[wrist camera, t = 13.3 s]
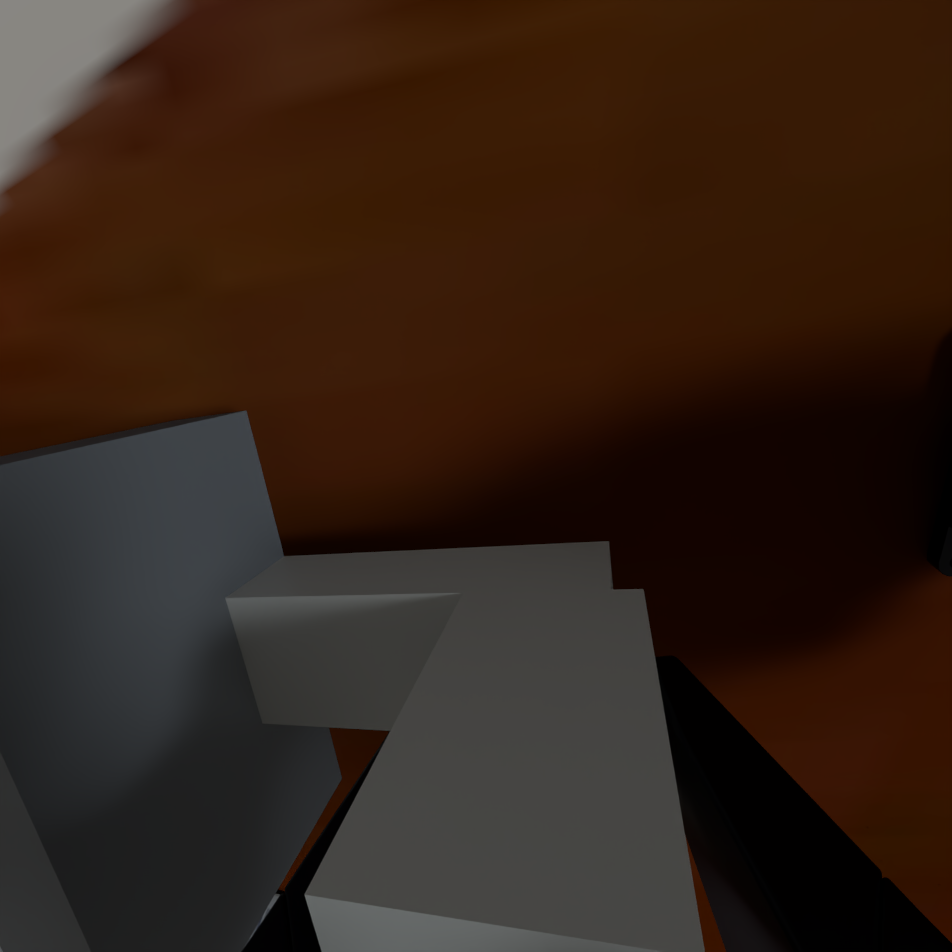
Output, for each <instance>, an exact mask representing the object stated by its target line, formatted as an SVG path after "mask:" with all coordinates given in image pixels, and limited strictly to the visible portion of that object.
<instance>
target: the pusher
mask: <svg viewBox="0 0 952 952" xmlns="http://www.w3.org/2000/svg"><path fill="white" fill-rule="evenodd" d="M329 727H332V728H349V729H367V730H385V731H390V730H391V731H390V733H389V735H388V736H387V738H386V740H385V742H384V744H383V746H382V748H381V750H380V752H379V754H378V755H377V757H376V759H375V761H374V763H373V765H372V767H371V769H370V771H369V773H368V775H367V776H366V778H365V780H364V782H363V784H362V786H361V788H360V790H359V792H358V794H357V795H356V797H355V799H354V801H353V803H352V805H351V807H350V809H349V811H348V813H347V814H346V816H345V818H344V820H343V822H342V824H341V826H340V828H339V830H338V832H337V833H336V835H335V837H334V839H333V841H332V843H331V845H330V847H329V849H328V851H327V853H326V854H325V856H324V858H323V860H322V862H321V864H320V866H319V868H318V870H317V872H316V873H315V875H314V877H313V879H312V881H311V883H310V885H309V887H308V889H307V891H306V892H305V894H304V895H305V899H306V902H307V905H308V908H309V912H310V915H311V918H312V922H313V925H314V928H315V931H316V935H317V938H318V941H319V945H320V948H321V951H322V952H705V950H704V944H703V938H702V932H701V926H700V920H699V914H698V909H697V903H696V897H695V891H694V885H693V879H692V873H691V867H690V861H689V855H688V849H687V843H686V838H685V832H684V826H683V820H682V814H681V808H680V802H679V796H678V790H677V784H676V778H675V772H674V767H673V761H672V755H671V749H670V743H669V737H668V731H667V725H666V719H665V713H664V707H663V701H662V696H661V690H660V684H659V678H658V672H657V666H656V660H655V654H654V648H653V642H652V636H651V630H650V625H649V619H648V613H647V607H646V601H645V595H644V589H617V590H613V581H612V570H611V559H610V548H609V541H601V542H579V543H557V544H536V545H514V546H493V547H471V548H450V549H428V550H406V551H385V552H363V553H342V554H320V555H298V556H284V554H283V550H282V546H281V542H280V538H279V535H278V531H277V527H276V523H275V519H274V515H273V511H272V508H271V504H270V500H269V496H268V492H267V488H266V485H265V481H264V477H263V473H262V469H261V465H260V461H259V458H258V454H257V450H256V446H255V442H254V438H253V435H252V431H251V427H250V423H249V419H248V415H247V412H246V411H239V412H232V413H225V414H218V415H210V416H203V417H196V418H189V419H181V420H174V421H169V422H164V423H160V424H155V425H150V426H145V427H140V428H136V429H131V430H126V431H121V432H116V433H111V434H107V435H102V436H97V437H92V438H87V439H83V440H78V441H73V442H68V443H63V444H59V445H54V446H49V447H44V448H39V449H34V450H30V451H25V452H20V453H15V454H10V455H6V456H1V457H0V947H1V949H2V951H3V952H241V951H242V950H243V948H244V947H245V945H246V943H247V942H248V940H249V938H250V936H251V935H252V933H253V931H254V930H255V928H256V926H257V924H258V923H259V921H260V919H261V917H262V916H263V914H264V912H265V911H266V909H267V907H268V905H269V904H270V902H271V900H272V898H273V897H274V895H275V893H276V892H277V890H278V888H279V886H280V885H281V883H282V881H283V879H284V878H285V876H286V874H287V873H288V871H289V869H290V867H291V866H292V864H293V862H294V860H295V859H296V857H297V855H298V853H299V852H300V850H301V848H302V847H303V845H304V843H305V841H306V840H307V838H308V836H309V834H310V833H311V831H312V829H313V828H314V826H315V824H316V822H317V821H318V819H319V817H320V815H321V814H322V812H323V810H324V809H325V807H326V805H327V803H328V802H329V800H330V798H331V796H332V795H333V793H334V791H335V790H336V788H337V786H338V784H339V783H340V781H341V779H342V777H341V773H340V769H339V765H338V761H337V757H336V754H335V750H334V746H333V742H332V738H331V734H330V731H329Z"/></svg>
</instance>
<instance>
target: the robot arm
mask: <svg viewBox="0 0 952 952" xmlns="http://www.w3.org/2000/svg"><path fill="white" fill-rule="evenodd" d="M927 560H928V561H929V563H930V564H931V565H933V566H934V567H935V568H936V569H937V570H939V571H940V572H941V573H942V574H944V575H947V576H952V457H951V461H950V465H949V469H948V473H947V477H946V481H945V484H944V488H943V492H942V496H941V500H940V504H939V508H938V512H937V516H936V520H935V524H934V528H933V532H932V536H931V540H930V543H929V547H928V551H927ZM655 660H656V666H657V672H658V678H659V684H660V690H661V696H662V701H663V707H664V713H665V719H666V725H667V731H668V737H669V743H670V749H671V755H672V761H673V767H674V772H675V778H676V784H677V790H678V796H679V802H680V808H681V814H682V820H683V826H684V832H685V835H686V838H687V841H688V843H689V846H690V849H691V852H692V855H693V858H694V861H695V863H696V866H697V869H698V872H699V875H700V878H701V881H702V883H703V886H704V889H705V892H706V895H707V898H708V900H709V903H710V906H711V909H712V912H713V915H714V918H715V920H716V923H717V926H718V929H719V932H720V935H721V937H722V940H723V943H724V946H725V949H726V952H952V943H951V942H950V941H949V940H948V939H947V938H946V937H945V936H944V935H943V934H942V933H941V932H940V931H939V930H938V929H937V928H936V927H935V926H934V925H933V924H932V923H931V922H930V921H929V920H928V919H927V918H926V917H925V916H924V915H923V914H922V913H921V912H920V911H919V910H918V909H917V908H916V907H915V905H914V904H913V903H912V902H911V901H910V900H909V899H908V898H907V897H906V896H905V895H904V894H903V893H902V892H901V891H900V890H899V889H898V888H897V887H896V886H895V884H894V883H893V882H892V881H891V880H890V879H888V878H886V877H884V878H882V873H881V871H880V869H879V868H878V867H877V866H876V865H875V864H874V863H873V862H872V861H871V860H870V859H869V858H868V857H867V856H866V855H865V854H864V852H863V851H862V850H861V849H860V848H859V847H858V846H857V845H856V844H855V843H854V842H853V841H852V840H851V839H850V838H849V837H848V836H847V835H846V834H845V833H844V832H843V831H842V829H841V828H840V827H839V826H838V825H837V824H836V823H835V822H834V821H833V820H832V819H831V818H830V817H829V816H828V815H827V814H826V813H825V812H824V811H823V810H822V809H821V808H820V806H819V805H818V804H817V803H816V802H815V801H814V800H813V799H812V798H811V797H810V796H809V795H808V794H807V793H806V792H805V791H804V790H803V789H802V788H801V787H800V786H799V785H798V784H797V782H796V781H795V780H794V779H793V778H792V777H791V776H790V775H789V774H788V773H787V772H786V771H785V770H784V769H783V768H782V767H781V766H780V765H779V764H778V763H777V762H776V761H775V759H774V758H773V757H772V756H771V755H770V754H769V753H768V752H767V751H766V750H765V749H764V748H763V747H762V746H761V745H760V744H759V743H758V742H757V741H756V740H755V739H754V738H753V736H752V735H751V734H750V733H749V732H748V731H747V730H746V729H745V728H744V727H743V726H742V725H741V724H740V723H739V722H738V721H737V720H736V719H735V718H734V717H733V716H732V715H731V713H730V712H729V711H728V710H727V709H726V708H725V707H724V706H723V705H722V704H721V703H720V702H719V701H718V700H717V699H716V698H715V697H714V696H713V695H712V694H711V693H710V692H709V690H708V689H707V688H706V687H705V686H704V685H703V684H702V683H701V682H700V681H699V680H698V679H697V678H696V677H695V676H694V675H693V674H692V673H691V672H690V671H689V670H688V669H687V668H686V666H685V665H684V664H683V663H682V662H681V661H680V660H679V659H678V658H676V657H674V656H660V657H655ZM390 731H391V730H390ZM389 733H390V732H389ZM389 733H388V735H389ZM388 735H387V736H388ZM387 736H386V738H387ZM386 738H385V739H384V741H383V742H382V744H381V745H380V747H379V748H378V750H377V751H376V753H375V754H374V756H373V757H372V759H371V760H370V762H369V763H368V765H367V766H366V768H365V769H364V771H363V772H362V774H361V775H360V777H359V778H358V780H357V781H356V783H355V784H354V786H353V787H352V789H351V790H350V792H349V793H348V795H347V796H346V798H345V799H344V801H343V802H342V804H341V805H340V807H339V808H338V810H337V811H336V813H335V814H334V816H333V817H332V819H331V820H330V822H329V823H328V825H327V826H326V828H325V829H324V830H323V832H322V833H321V835H320V836H319V838H318V839H317V841H316V842H315V844H314V845H313V847H312V848H311V850H310V851H309V853H308V854H307V856H306V857H305V859H304V860H303V862H302V863H301V865H300V866H299V868H298V869H297V871H296V872H295V874H294V875H293V877H292V878H291V880H290V881H289V883H288V884H287V886H286V887H285V894H284V893H283V894H281V895H280V896H279V897H278V899H277V900H276V902H275V903H274V905H273V906H272V908H271V909H270V911H269V912H268V914H267V915H266V917H265V918H264V920H263V921H262V923H261V924H260V926H259V927H258V928H257V930H256V931H255V933H254V934H253V936H252V937H251V938H250V940H249V941H248V943H247V944H246V946H245V947H244V948H243V950H242V951H241V952H322V951H321V948H320V945H319V941H318V938H317V935H316V931H315V928H314V925H313V922H312V918H311V915H310V912H309V908H308V905H307V902H306V899H305V895H304V894H305V892H306V891H307V889H308V887H309V885H310V883H311V881H312V879H313V877H314V875H315V873H316V872H317V870H318V868H319V866H320V864H321V862H322V860H323V858H324V856H325V854H326V853H327V851H328V849H329V847H330V845H331V843H332V841H333V839H334V837H335V835H336V833H337V832H338V830H339V828H340V826H341V824H342V822H343V820H344V818H345V816H346V814H347V813H348V811H349V809H350V807H351V805H352V803H353V801H354V799H355V797H356V795H357V794H358V792H359V790H360V788H361V786H362V784H363V782H364V780H365V778H366V776H367V775H368V773H369V771H370V769H371V767H372V765H373V763H374V761H375V759H376V757H377V755H378V754H379V752H380V750H381V748H382V746H383V744H384V742H385V740H386Z"/></svg>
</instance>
